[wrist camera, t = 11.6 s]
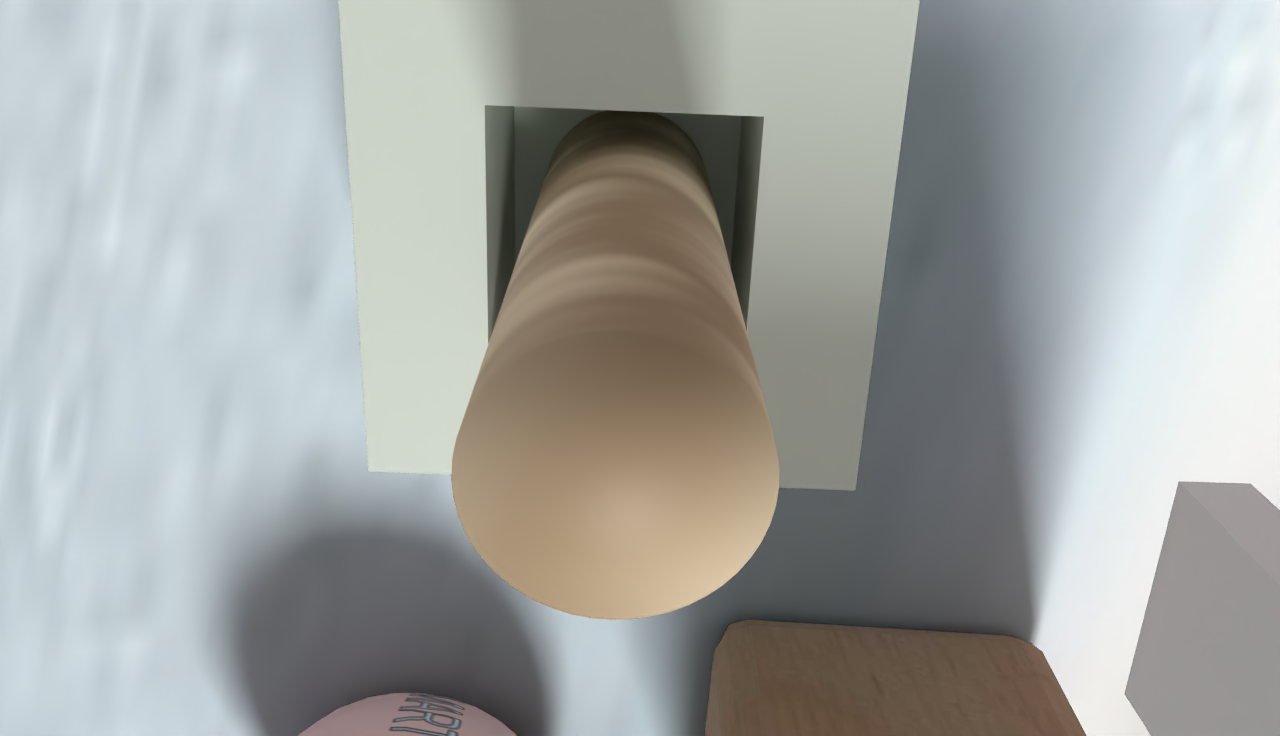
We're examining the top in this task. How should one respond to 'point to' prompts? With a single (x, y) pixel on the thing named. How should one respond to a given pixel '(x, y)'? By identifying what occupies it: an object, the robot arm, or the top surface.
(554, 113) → the socket block
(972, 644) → the wooden block
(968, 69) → the top surface
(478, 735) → the mug
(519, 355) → the birch peg
